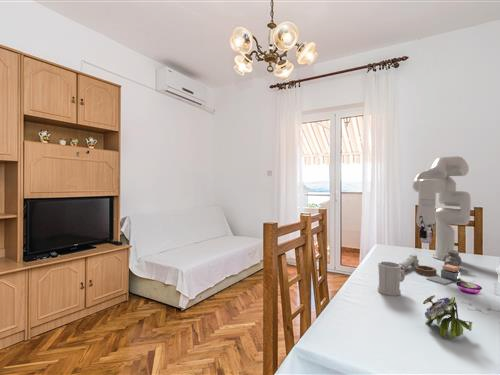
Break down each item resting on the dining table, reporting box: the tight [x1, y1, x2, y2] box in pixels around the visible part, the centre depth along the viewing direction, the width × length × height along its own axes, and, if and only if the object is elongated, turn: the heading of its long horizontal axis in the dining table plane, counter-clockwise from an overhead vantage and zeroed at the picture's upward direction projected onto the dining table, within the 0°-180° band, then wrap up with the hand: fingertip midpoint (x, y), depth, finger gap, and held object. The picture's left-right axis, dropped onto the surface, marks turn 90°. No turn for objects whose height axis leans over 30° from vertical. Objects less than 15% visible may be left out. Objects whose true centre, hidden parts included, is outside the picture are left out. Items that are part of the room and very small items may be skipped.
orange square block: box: [442, 264, 460, 272], centre depth 135 cm, size 5×5×5 cm
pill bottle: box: [420, 226, 433, 245], centre depth 144 cm, size 5×5×8 cm
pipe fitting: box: [443, 249, 462, 267], centre depth 151 cm, size 12×8×10 cm
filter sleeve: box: [414, 264, 437, 277], centre depth 144 cm, size 9×9×2 cm
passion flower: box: [422, 295, 473, 340], centre depth 87 cm, size 13×12×14 cm
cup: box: [377, 261, 406, 297], centre depth 118 cm, size 10×9×12 cm
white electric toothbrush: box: [398, 253, 420, 273], centre depth 152 cm, size 5×7×25 cm
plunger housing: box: [440, 268, 459, 283], centre depth 135 cm, size 6×6×4 cm
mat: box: [426, 275, 455, 286], centre depth 132 cm, size 8×8×1 cm
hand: (426, 237), depth 144 cm, fingers closed on pill bottle, 4 cm apart
